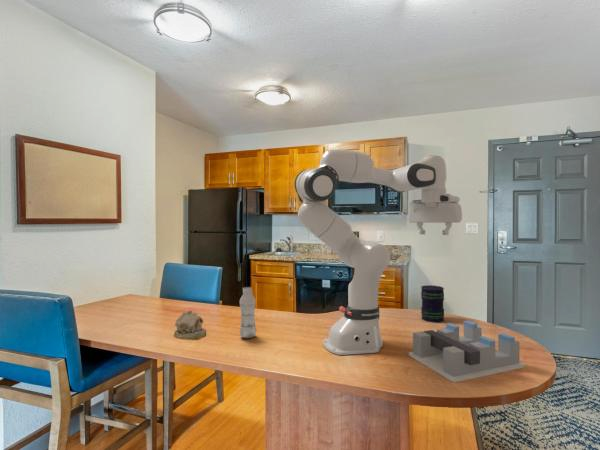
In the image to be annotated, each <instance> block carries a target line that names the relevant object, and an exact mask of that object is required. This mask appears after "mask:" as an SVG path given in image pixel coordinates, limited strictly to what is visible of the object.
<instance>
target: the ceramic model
mask: <svg viewBox="0 0 600 450" xmlns="http://www.w3.org/2000/svg"><path fill="white" fill-rule="evenodd" d="M203 323H204V319H203V318H202V317H201V316H200V315H199V314H197V312H193V310H187V311H183V312H182V313H181V315H179V317H177V319H176V320H175V323H174V326H175V327H176V330H175V331H174V332H173V335H174V337H175V338H176V339H183V340H197V339H201V338H203V337H205V336H206V334H207V329H205V328H203V327H202V326H203Z"/></svg>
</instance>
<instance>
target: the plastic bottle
mask: <svg viewBox="0 0 600 450" xmlns="http://www.w3.org/2000/svg"><path fill="white" fill-rule="evenodd" d="M239 308H240V316H241V317H240V327H239V333H240V337H241V338H243V339H251V338H255V336H256V334H257V328H256V320H255V309H256V298H255V297H254V295H253V288H252V287H251V286H245V287H244V286H243V287H242V295H241V297H240V298H239Z"/></svg>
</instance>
